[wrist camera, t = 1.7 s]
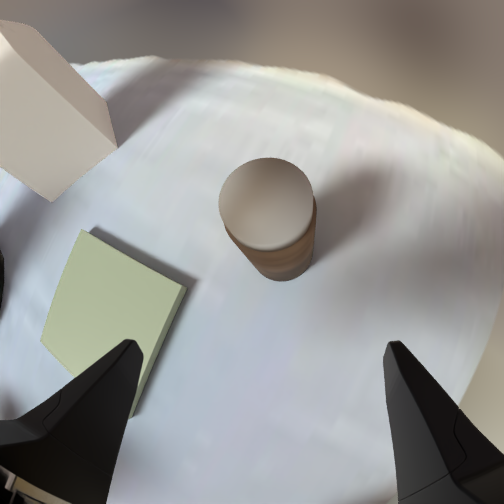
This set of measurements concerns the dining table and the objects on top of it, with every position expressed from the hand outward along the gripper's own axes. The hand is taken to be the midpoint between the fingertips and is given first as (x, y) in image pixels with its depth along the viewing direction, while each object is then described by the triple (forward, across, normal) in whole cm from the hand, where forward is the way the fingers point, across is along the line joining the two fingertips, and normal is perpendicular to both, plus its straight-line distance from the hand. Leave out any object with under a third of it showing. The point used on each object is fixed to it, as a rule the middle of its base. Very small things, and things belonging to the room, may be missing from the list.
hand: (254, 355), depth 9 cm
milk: (+25, +27, -7) cm, 37 cm away
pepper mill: (+14, 0, +4) cm, 15 cm away
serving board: (+10, +17, +9) cm, 22 cm away
